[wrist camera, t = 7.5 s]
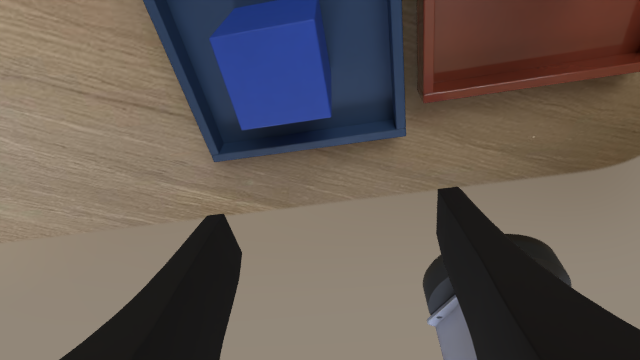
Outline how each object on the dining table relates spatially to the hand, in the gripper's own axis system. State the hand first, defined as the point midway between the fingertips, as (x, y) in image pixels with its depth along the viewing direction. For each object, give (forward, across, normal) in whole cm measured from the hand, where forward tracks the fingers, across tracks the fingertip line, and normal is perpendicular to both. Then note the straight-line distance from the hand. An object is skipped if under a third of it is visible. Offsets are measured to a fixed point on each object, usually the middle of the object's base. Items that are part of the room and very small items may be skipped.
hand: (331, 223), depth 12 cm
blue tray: (+10, +2, -3) cm, 10 cm away
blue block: (+9, +2, -3) cm, 10 cm away
